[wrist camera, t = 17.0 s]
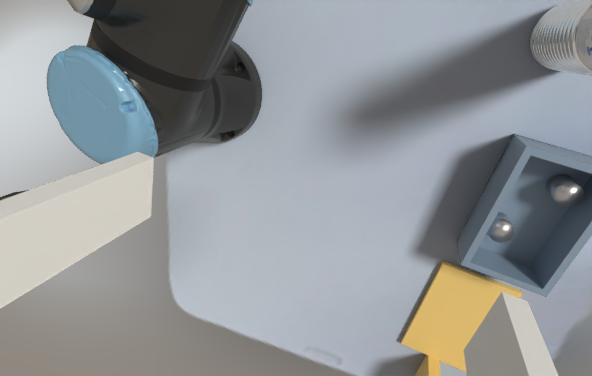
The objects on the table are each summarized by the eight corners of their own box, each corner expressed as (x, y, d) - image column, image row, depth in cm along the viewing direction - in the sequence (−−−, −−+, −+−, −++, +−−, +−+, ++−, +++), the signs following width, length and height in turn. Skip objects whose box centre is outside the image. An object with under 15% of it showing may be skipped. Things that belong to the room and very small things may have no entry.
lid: (388, 363, 60) (384, 405, 53) (442, 260, 50) (446, 294, 43) (451, 392, 58) (455, 439, 50) (521, 290, 48) (537, 331, 41)
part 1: (480, 226, 46) (484, 237, 43) (490, 208, 44) (495, 218, 42) (502, 234, 45) (507, 246, 42) (513, 216, 44) (519, 227, 41)
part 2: (564, 199, 41) (572, 211, 39) (540, 189, 42) (547, 200, 39) (580, 180, 40) (590, 190, 37) (556, 170, 40) (564, 179, 38)
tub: (456, 241, 48) (460, 264, 43) (513, 133, 41) (526, 146, 36) (532, 268, 46) (546, 297, 41) (605, 160, 39) (633, 177, 34)
